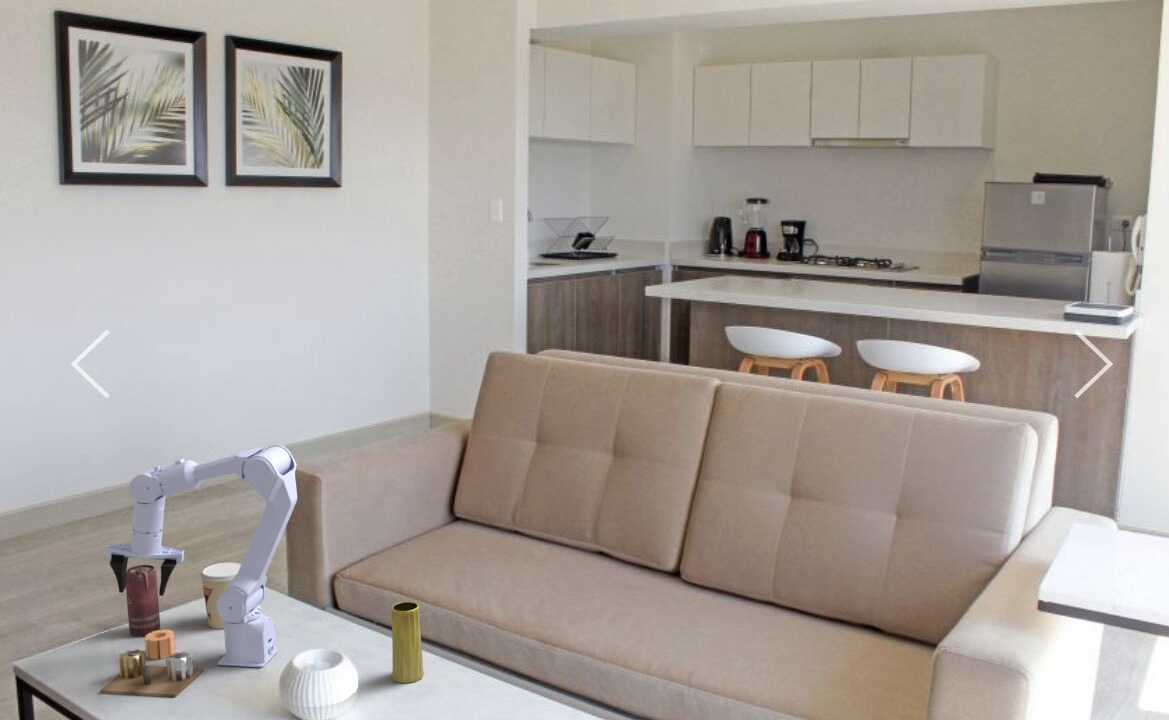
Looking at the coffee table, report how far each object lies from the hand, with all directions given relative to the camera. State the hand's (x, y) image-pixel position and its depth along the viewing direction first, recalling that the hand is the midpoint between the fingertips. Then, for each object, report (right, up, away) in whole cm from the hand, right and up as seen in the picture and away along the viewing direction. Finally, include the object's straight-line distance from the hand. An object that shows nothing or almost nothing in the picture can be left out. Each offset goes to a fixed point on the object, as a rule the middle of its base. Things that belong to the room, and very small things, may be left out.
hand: (142, 592), depth 217 cm
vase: (+55, -14, -9) cm, 58 cm away
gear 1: (+2, -15, -9) cm, 17 cm away
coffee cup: (+11, -10, +18) cm, 23 cm away
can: (-4, -11, +13) cm, 18 cm away
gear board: (+6, -15, -11) cm, 19 cm away
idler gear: (+3, -13, +2) cm, 13 cm away
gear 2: (+11, -15, -10) cm, 21 cm away
